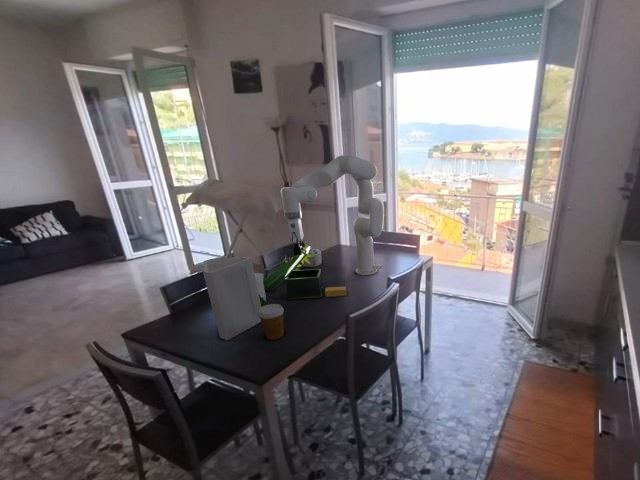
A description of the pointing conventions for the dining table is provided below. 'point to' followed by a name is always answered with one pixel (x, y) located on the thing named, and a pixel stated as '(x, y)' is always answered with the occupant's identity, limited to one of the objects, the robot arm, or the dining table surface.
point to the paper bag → (232, 294)
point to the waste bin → (304, 284)
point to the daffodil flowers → (283, 271)
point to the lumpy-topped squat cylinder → (313, 258)
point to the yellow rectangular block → (335, 291)
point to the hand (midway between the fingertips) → (298, 253)
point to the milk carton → (261, 289)
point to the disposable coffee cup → (272, 320)
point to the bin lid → (298, 260)
